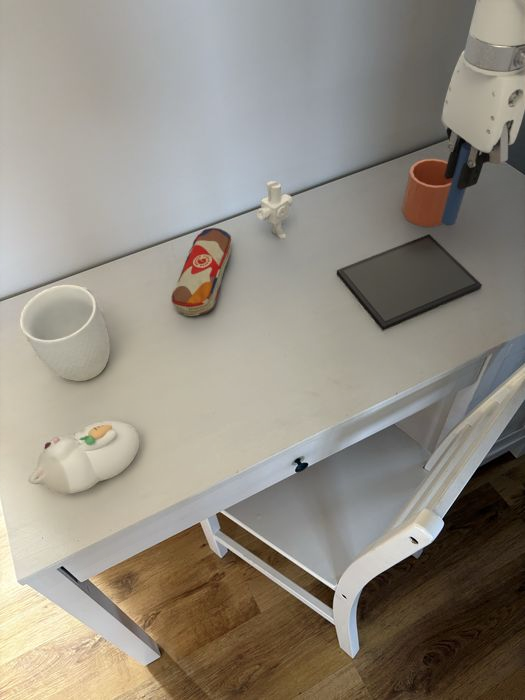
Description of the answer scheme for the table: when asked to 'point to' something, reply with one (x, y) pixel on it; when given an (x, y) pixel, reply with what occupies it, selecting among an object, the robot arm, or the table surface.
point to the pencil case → (202, 273)
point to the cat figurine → (86, 457)
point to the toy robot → (275, 208)
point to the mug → (67, 331)
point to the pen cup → (426, 192)
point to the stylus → (455, 193)
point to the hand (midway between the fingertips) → (460, 179)
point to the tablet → (407, 281)
